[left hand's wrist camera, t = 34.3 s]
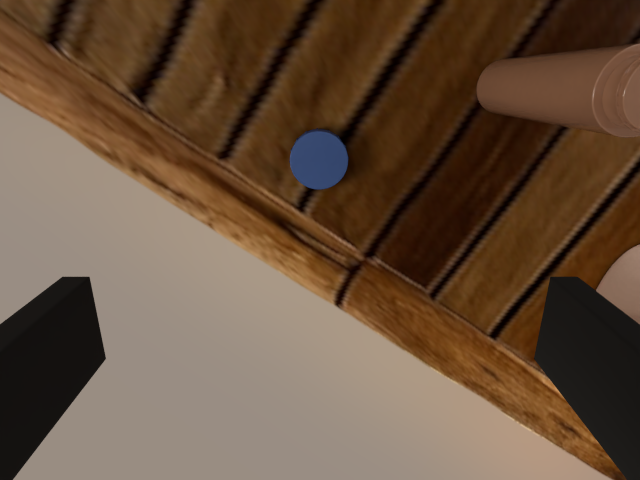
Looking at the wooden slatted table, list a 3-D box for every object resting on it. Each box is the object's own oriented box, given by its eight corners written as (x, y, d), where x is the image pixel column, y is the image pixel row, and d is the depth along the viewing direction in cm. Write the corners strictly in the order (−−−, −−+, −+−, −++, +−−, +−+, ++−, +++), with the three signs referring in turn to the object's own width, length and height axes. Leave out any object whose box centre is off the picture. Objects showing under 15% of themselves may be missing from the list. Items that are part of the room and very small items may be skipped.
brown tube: (465, 95, 39) (592, 107, 21) (499, 47, 38) (666, 17, 20) (504, 123, 40) (659, 159, 22) (539, 78, 39) (735, 76, 20)
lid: (280, 167, 41) (279, 171, 40) (308, 117, 40) (307, 119, 38) (329, 194, 42) (329, 200, 40) (357, 147, 41) (359, 150, 39)
